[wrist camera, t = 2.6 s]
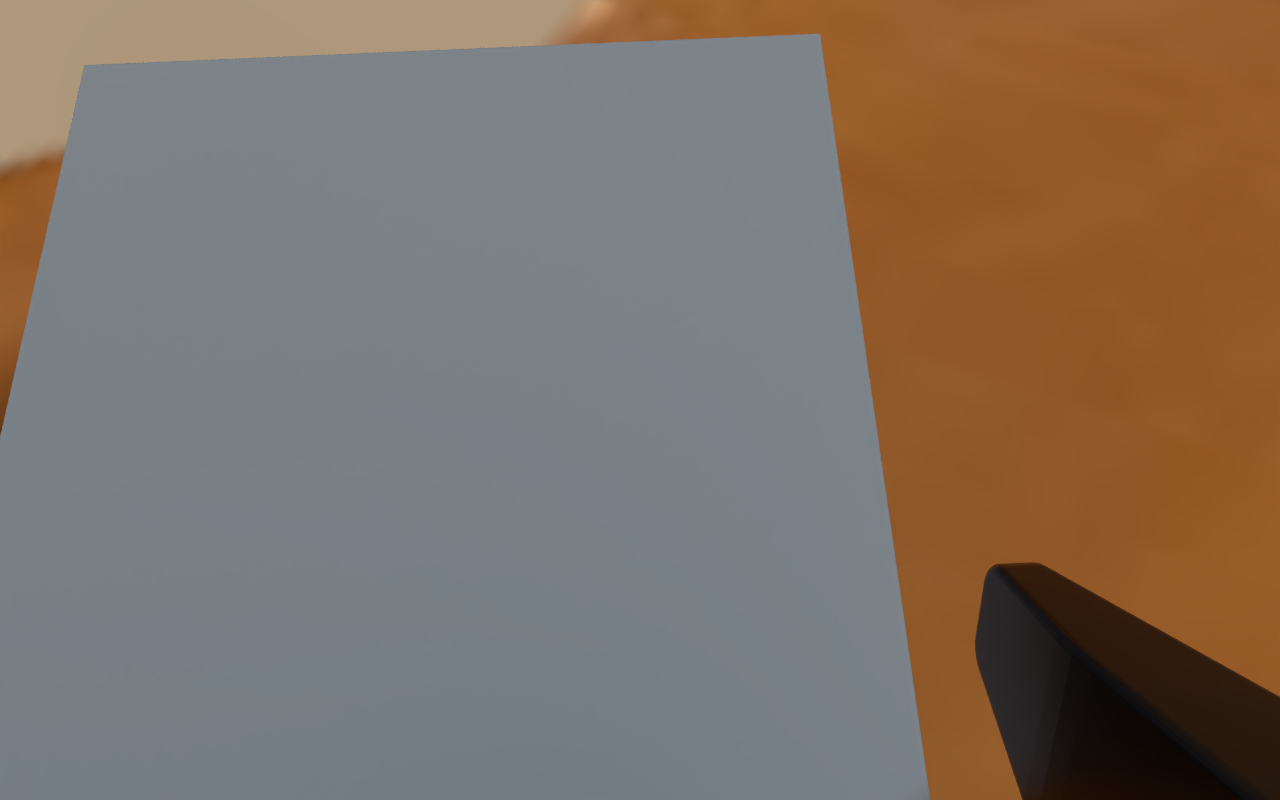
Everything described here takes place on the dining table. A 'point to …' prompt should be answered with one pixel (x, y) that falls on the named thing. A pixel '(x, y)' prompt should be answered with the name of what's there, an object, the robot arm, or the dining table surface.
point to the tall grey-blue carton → (451, 439)
